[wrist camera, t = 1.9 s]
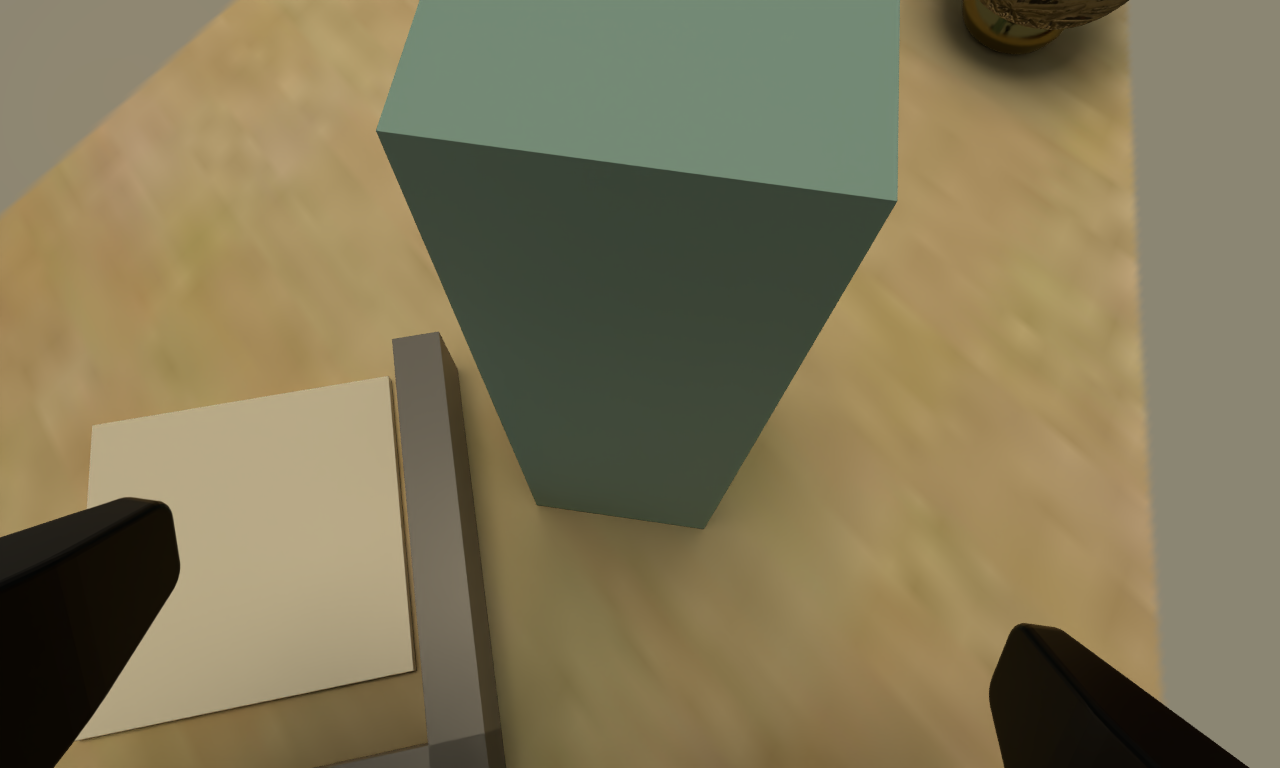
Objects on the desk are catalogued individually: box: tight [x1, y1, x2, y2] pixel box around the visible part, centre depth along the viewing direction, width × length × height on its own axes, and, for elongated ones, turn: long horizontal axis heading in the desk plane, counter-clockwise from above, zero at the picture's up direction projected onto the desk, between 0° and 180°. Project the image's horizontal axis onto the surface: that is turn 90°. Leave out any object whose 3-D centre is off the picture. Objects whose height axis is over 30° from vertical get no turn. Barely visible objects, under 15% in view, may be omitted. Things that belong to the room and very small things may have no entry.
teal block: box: [376, 0, 900, 529], centre depth 14 cm, size 5×5×15 cm
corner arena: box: [75, 332, 506, 768], centre depth 18 cm, size 11×10×2 cm
